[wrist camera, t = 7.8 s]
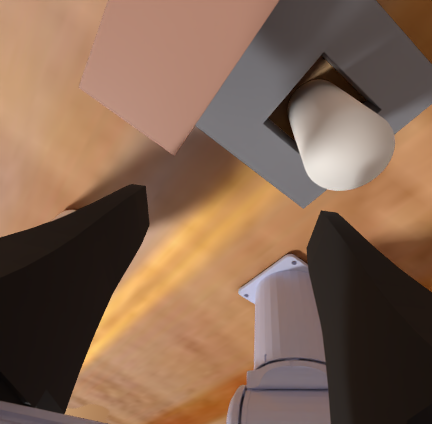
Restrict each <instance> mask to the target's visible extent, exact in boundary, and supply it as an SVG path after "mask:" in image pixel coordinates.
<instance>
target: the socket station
mask: <svg viewBox="0 0 432 424" xmlns="http://www.w3.org/2000/svg"><path fill="white" fill-rule="evenodd" d="M321 55H322V56H323V57H324V58H325V59H326V60H327V61H328V62H329V63H330V64H331V65H332V66H333V67H334V68H335V69H336V70H337V71H338V72H339V73H340V74H341V75H342V76H343V77H344V78H345V79H346V80H347V81H348V82H349V83H350V84H351V85H352V86H353V87H354V88H355V89H356V90H357V91H358V92H359V93H360V94H361V95H362V96H363V97H364V98H365V99H366V101H365V102H364V103H363V105H365V106H366V107H368V108H369V109H371V110H372V111H374V112H375V113H377V114H378V115H380V116H381V117H382V118H384V119H385V120H386V121H387V122H388V123H389V125H390V126H391V128H392V130H393V133H394V134H396V133H397V132H398V131H399V130H400V129H402V128H403V127H404V126H405V125H407V124H408V123H409V122H410V121H411V120H413V119H414V118H415V117H416V116H418V115H419V114H420V113H421V112H422V111H424V110H425V109H426V108H427V107H429V106H430V105H431V104H432V64H431V63H430V62H429V61H428V60H427V58H426V57H425V56H424V55H423V54H422V53H421V52H420V50H419V49H418V48H417V47H416V46H415V45H414V44H413V42H412V41H411V40H410V39H409V38H408V37H407V35H406V34H405V33H404V32H403V31H402V30H401V29H400V27H399V26H398V25H397V24H396V23H395V22H394V20H393V19H392V18H391V17H390V16H389V15H388V14H387V12H386V11H385V10H384V9H383V8H382V7H381V6H380V4H379V3H378V2H377V1H376V0H108V2H107V5H106V8H105V11H104V13H103V16H102V19H101V22H100V25H99V28H98V31H97V34H96V37H95V40H94V43H93V46H92V49H91V52H90V55H89V58H88V61H87V64H86V67H85V70H84V73H83V76H82V79H81V82H80V85H79V88H80V89H81V90H83V91H84V92H85V93H87V94H88V95H90V96H91V97H92V98H94V99H95V100H97V101H98V102H99V103H101V104H102V105H104V106H105V107H106V108H108V109H109V110H111V111H112V112H113V113H115V114H116V115H118V116H119V117H120V118H122V119H123V120H125V121H126V122H127V123H129V124H130V125H132V126H133V127H135V128H136V129H137V130H139V131H140V132H142V133H143V134H144V135H146V136H147V137H149V138H150V139H151V140H153V141H154V142H156V143H157V144H158V145H160V146H161V147H163V148H164V149H165V150H167V151H168V152H170V153H171V154H172V155H174V156H175V154H176V153H177V151H178V150H179V148H180V147H181V145H182V144H183V142H184V141H185V140H186V138H187V137H188V135H189V134H190V132H191V131H192V129H193V128H194V126H196V127H197V128H199V129H200V130H201V131H203V132H204V133H205V134H207V135H208V136H209V137H210V138H212V139H213V140H214V141H216V142H217V143H218V144H220V145H221V146H222V147H224V148H225V149H226V150H227V151H229V152H230V153H231V154H233V155H234V156H235V157H237V158H238V159H239V160H241V161H242V162H243V163H244V164H246V165H247V166H248V167H250V168H251V169H252V170H254V171H255V172H256V173H258V174H259V175H260V176H261V177H263V178H264V179H265V180H267V181H268V182H269V183H271V184H272V185H273V186H274V187H276V188H277V189H278V190H280V191H281V192H282V193H284V194H285V195H286V196H288V197H289V198H290V199H291V200H293V201H294V202H295V203H297V204H298V205H299V206H301V207H302V208H303V209H304V208H305V207H306V206H307V205H309V204H310V203H311V202H312V201H313V200H315V199H316V198H317V197H318V196H320V195H321V194H322V193H323V192H324V191H326V190H327V189H326V188H323V187H321V186H319V185H317V184H316V183H314V182H313V181H312V180H311V179H310V177H309V176H308V174H307V173H306V170H305V167H304V164H303V161H302V158H301V155H300V152H299V149H298V146H297V143H296V141H295V140H293V139H292V138H291V137H290V136H289V135H288V134H286V133H285V132H284V131H283V130H282V129H280V128H279V127H278V126H277V125H276V124H275V123H273V122H272V121H271V120H270V119H269V118H268V117H269V116H270V115H271V114H272V112H273V111H274V110H275V109H276V108H277V106H278V105H279V104H280V103H281V102H282V101H283V99H284V98H285V97H286V96H287V95H288V93H289V92H290V91H291V90H292V89H293V88H294V86H295V85H296V84H297V83H298V82H299V81H300V79H301V78H302V77H303V76H304V75H305V73H306V72H307V71H308V70H309V69H310V68H311V66H312V65H313V64H314V63H315V62H316V60H317V59H318V58H319V57H320V56H321Z"/></svg>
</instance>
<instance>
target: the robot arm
mask: <svg viewBox="0 0 432 424" xmlns="http://www.w3.org/2000/svg"><path fill="white" fill-rule="evenodd" d="M148 227H149V214H148V204H147V194H146V186H141V185H134V184H131V185H128V186H126V187H124V188H122V189H120V190H118V191H116V192H114V193H112V194H110V195H108V196H106V197H104V198H102V199H100V200H98V201H96V202H94V203H92V204H90V205H88V206H85V207H83V208H81V209H79V210H77V211H74V212H72V213H70V214H68V215H65V216H63V217H61V218H58V219H56V220H53V221H50V222H48V223H45V224H42V225H39V226H37V227H34V228H31V229H28V230H24V231H21V232H17V233H14V234H11V235H7V236H4V237H1V238H0V424H107V423H102V422H98V421H93V420H88V419H84V418H79V417H74V416H69V415H65V411H66V408H67V405H68V403H69V400H70V397H71V394H72V391H73V389H74V386H75V383H76V380H77V378H78V375H79V372H80V370H81V367H82V364H83V362H84V359H85V357H86V354H87V352H88V349H89V347H90V344H91V342H92V339H93V337H94V335H95V332H96V330H97V328H98V325H99V323H100V321H101V318H102V316H103V314H104V312H105V309H106V307H107V305H108V303H109V301H110V298H111V296H112V294H113V292H114V291H115V289H116V287H117V285H118V283H119V282H120V280H121V278H122V277H123V275H124V273H125V272H126V270H127V268H128V267H129V265H130V263H131V261H132V260H133V258H134V256H135V255H136V253H137V251H138V249H139V248H140V246H141V244H142V242H143V240H144V237H145V235H146V232H147V230H148ZM292 261H295V262H292ZM307 261H308V264H306V263H305V262H304V261H302V260H301V259H299V258H298V257H296V256H295V255H293V254H287V255H285V256H284V257H283V258H281V259H280V260H278V261H277V262H276V263H274V264H273V265H272V266H270V267H269V268H267V269H266V270H265V271H263V272H262V273H261V274H259V275H258V276H256V277H255V278H254V279H252V280H251V281H249V282H248V283H247V284H245V285H244V286H243V287H241V288H240V289H239V292H238V293H239V295H241V296H242V297H244V298H246V299H247V300H249V301H251V302H252V303H254V304H255V342H254V370H252V371H247V385H241V386H239V388H238V389H237V390H236V392H235V394H234V396H233V397H232V399H231V402H230V405H229V409H228V414H227V422H226V424H432V292H431V291H429V290H428V289H426V288H425V287H424V286H422V285H421V284H419V283H418V282H417V281H415V280H414V279H413V278H411V277H410V276H409V275H407V274H406V273H405V272H403V271H402V270H401V269H400V268H398V267H397V266H396V265H395V264H394V263H392V262H391V261H390V260H389V259H387V258H386V257H385V256H384V255H383V254H382V253H380V252H379V251H378V250H377V249H376V248H375V247H374V246H373V245H372V244H370V243H369V242H368V241H367V240H366V239H365V238H364V237H363V236H362V235H361V234H360V233H359V232H358V231H356V230H355V229H354V228H353V227H352V226H351V225H350V224H349V223H348V222H347V221H346V220H345V219H344V218H343V217H341V216H340V215H339V214H338V213H335V212H328V211H321V212H320V215H319V217H318V220H317V222H316V225H315V228H314V230H313V233H312V236H311V238H310V241H309V243H308V246H307Z"/></svg>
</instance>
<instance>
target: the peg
mask: <svg viewBox="0 0 432 424" xmlns="http://www.w3.org/2000/svg"><path fill="white" fill-rule="evenodd" d="M287 113H288V119H289V122H290V125H291V128H292V131H293V134H294V137H295V140H296V143H297V146H298V149H299V152H300V155H301V158H302V161H303V164H304V167H305V170H306V173H307V174H308V176H309V177H310V179H311V180H312V181H313V182H314V183H316V184H317V185H319V186H321V187H323V188H326V189H329V190H336V191H344V190H350V189H355V188H358V187H360V186H363V185H365V184H367V183H368V182H370V181H372V180H373V179H374V178H376V177H377V176H378V175H379V174H380V173H381V172H382V171H383V170H384V169H385V168H386V166H387V165H388V163H389V161H390V160H391V157H392V155H393V152H394V147H395V137H394V133H393V130H392V128H391V126H390V125H389V123H388V122H387V121H386V120H385V119H384V118H382V117H381V116H380V115H378V114H377V113H375V112H374V111H372V110H371V109H369V108H368V107H366V106H365V105H363V104H362V103H361V102H359V101H358V100H356V99H355V98H353V97H352V96H350V95H349V94H347V93H346V92H344V91H343V90H342V89H340V88H339V87H337V86H336V85H334V84H333V83H331V82H329V81H326V80H320V79H318V80H312V81H309V82H307V83H305V84H303V85H302V86H300V87H299V88H298V89H297V90H296V91H295V92H294V93H293V95H292V97H291V98H290V101H289V104H288V109H287Z"/></svg>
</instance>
